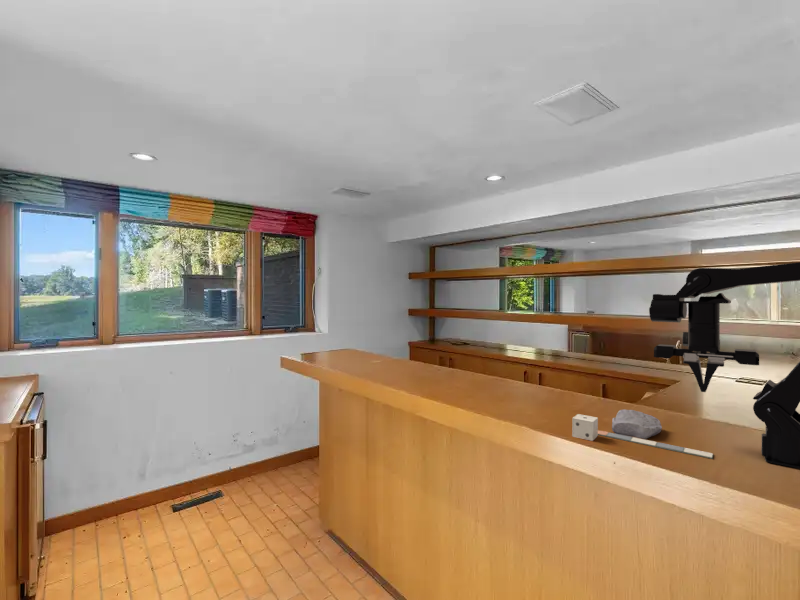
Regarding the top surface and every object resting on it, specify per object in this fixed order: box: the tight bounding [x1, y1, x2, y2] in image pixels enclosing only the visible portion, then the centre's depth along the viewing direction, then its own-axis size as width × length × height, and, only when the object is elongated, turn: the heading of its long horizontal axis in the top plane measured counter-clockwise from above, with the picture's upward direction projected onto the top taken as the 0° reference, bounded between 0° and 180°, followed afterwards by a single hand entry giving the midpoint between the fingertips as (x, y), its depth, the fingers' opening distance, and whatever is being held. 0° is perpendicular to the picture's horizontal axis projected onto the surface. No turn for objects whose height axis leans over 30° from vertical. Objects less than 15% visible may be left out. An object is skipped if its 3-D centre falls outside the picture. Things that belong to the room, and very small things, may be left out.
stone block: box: [611, 408, 663, 440], centre depth 100 cm, size 12×5×10 cm
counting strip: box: [598, 429, 714, 460], centre depth 91 cm, size 25×3×1 cm, turn 50°
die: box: [571, 413, 599, 442], centre depth 95 cm, size 4×4×4 cm
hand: (703, 391), depth 91 cm, fingers closed
